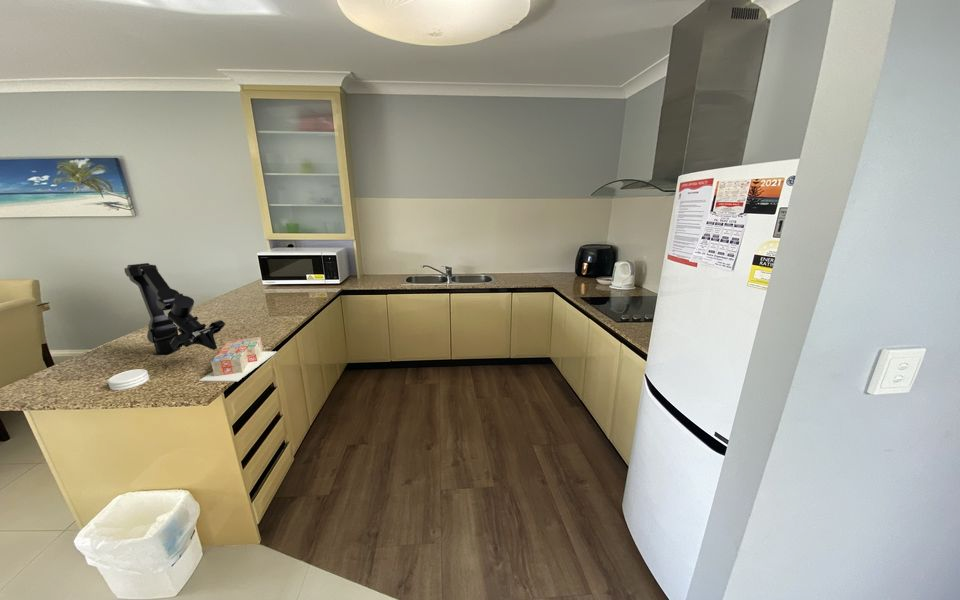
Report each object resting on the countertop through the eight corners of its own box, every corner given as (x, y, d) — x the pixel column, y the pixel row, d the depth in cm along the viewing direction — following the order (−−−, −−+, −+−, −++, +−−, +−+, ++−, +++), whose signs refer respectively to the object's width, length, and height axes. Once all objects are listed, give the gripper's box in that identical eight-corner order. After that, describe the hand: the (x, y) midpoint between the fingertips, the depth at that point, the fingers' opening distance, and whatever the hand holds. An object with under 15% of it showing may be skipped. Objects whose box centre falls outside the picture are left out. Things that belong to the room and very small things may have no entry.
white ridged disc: (142, 374, 124) (139, 366, 123) (155, 380, 120) (152, 372, 119) (105, 386, 115) (102, 378, 114) (117, 393, 111) (114, 385, 110)
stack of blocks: (213, 376, 122) (252, 371, 127) (210, 362, 120) (249, 356, 125) (230, 353, 141) (263, 349, 146) (227, 340, 139) (261, 336, 144)
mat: (199, 381, 120) (198, 380, 119) (244, 352, 144) (244, 351, 143) (237, 381, 120) (237, 380, 120) (276, 352, 144) (276, 351, 144)
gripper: (199, 325, 137) (226, 350, 139) (150, 342, 120) (182, 371, 121) (211, 308, 134) (239, 335, 136) (162, 324, 116) (195, 354, 118)
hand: (215, 348), depth 128 cm, fingers closed
